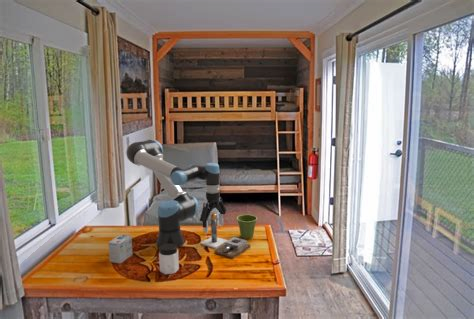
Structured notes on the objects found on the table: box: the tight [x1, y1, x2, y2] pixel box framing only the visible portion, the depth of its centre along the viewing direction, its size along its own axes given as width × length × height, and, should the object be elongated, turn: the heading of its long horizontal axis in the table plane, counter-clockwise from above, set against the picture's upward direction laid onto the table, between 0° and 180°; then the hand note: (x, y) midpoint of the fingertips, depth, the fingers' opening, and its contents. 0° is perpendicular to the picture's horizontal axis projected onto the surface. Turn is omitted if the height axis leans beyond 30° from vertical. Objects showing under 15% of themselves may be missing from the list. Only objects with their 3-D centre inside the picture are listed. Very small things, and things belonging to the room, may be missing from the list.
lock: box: [214, 236, 251, 259], centre depth 201 cm, size 12×16×4 cm
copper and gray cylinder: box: [210, 212, 218, 243], centre depth 209 cm, size 3×3×16 cm
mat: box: [199, 236, 229, 250], centre depth 211 cm, size 11×11×1 cm
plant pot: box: [236, 214, 258, 239], centre depth 219 cm, size 12×12×11 cm
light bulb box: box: [107, 234, 133, 264], centre depth 193 cm, size 11×7×11 cm, turn 160°
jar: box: [158, 243, 180, 275], centre depth 179 cm, size 9×8×12 cm
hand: (213, 228), depth 209 cm, fingers open, 13 cm apart
